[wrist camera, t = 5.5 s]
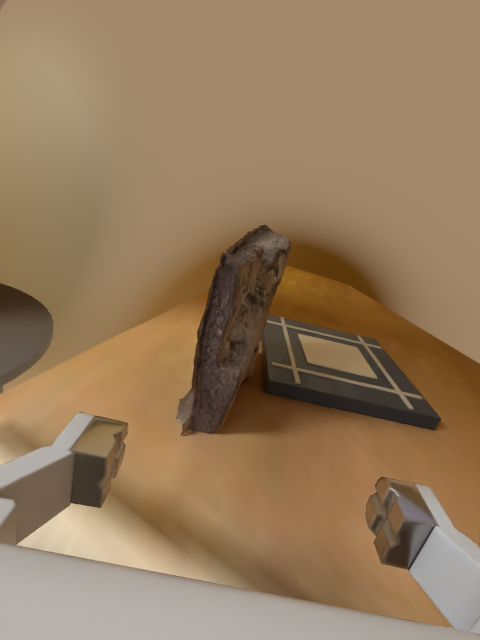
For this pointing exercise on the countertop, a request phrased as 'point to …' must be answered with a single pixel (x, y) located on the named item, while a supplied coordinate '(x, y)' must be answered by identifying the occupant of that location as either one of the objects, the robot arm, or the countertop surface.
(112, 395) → the countertop surface
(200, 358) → the mineral sample
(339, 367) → the board
